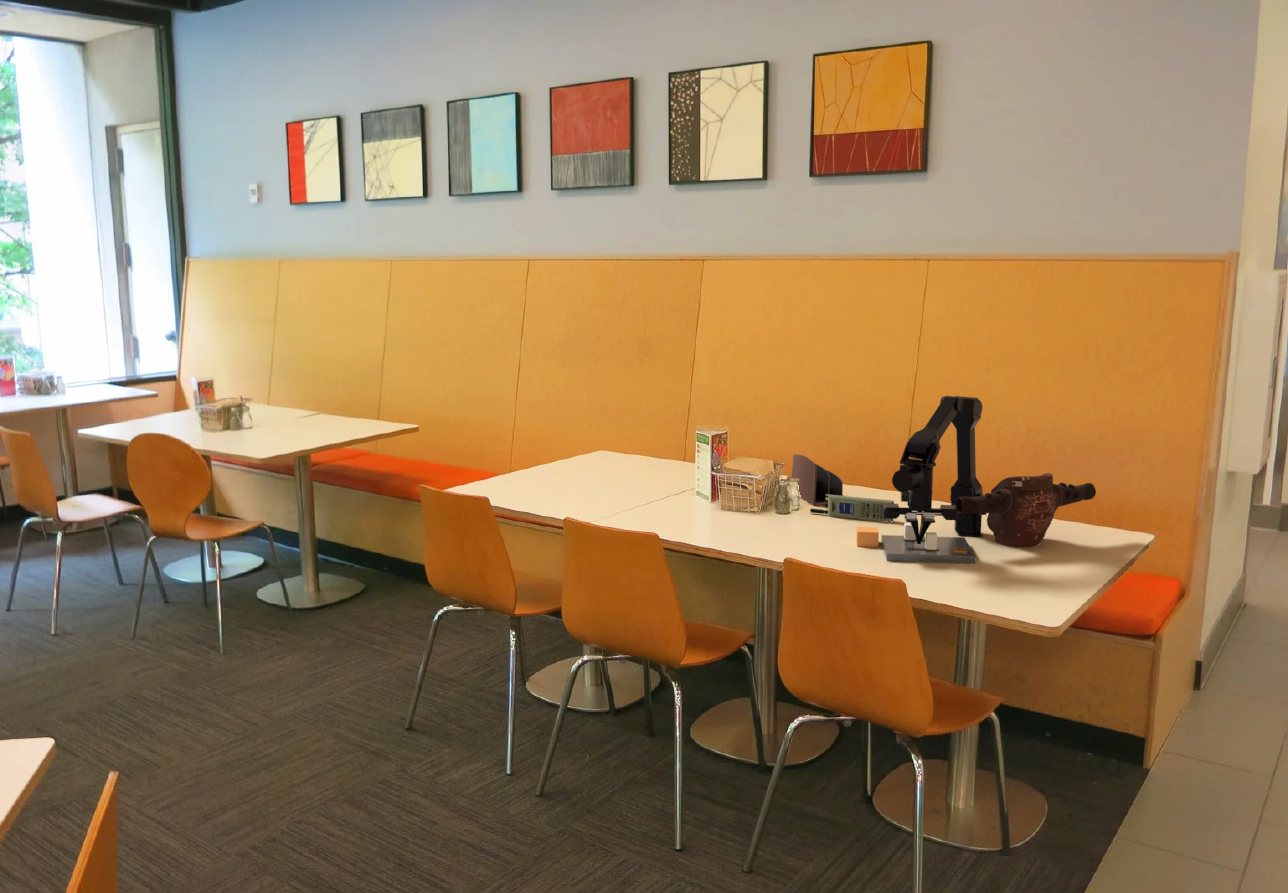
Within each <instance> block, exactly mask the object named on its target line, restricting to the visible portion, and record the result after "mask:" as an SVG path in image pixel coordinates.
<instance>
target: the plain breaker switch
mask: <svg viewBox="0 0 1288 893" xmlns="http://www.w3.org/2000/svg"><path fill="white" fill-rule="evenodd" d="M903 526H904V527H903V536H904V539H905V540H915V534H914V530H913V527H912V525H911V523H910V522H904V524H903Z"/></svg>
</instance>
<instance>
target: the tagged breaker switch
mask: <svg viewBox="0 0 1288 893" xmlns="http://www.w3.org/2000/svg"><path fill="white" fill-rule="evenodd" d="M924 536H925V548H926V550H937V537H938V533H937V532H935V531H926V533H925V535H924Z"/></svg>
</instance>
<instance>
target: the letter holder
mask: <svg viewBox="0 0 1288 893" xmlns="http://www.w3.org/2000/svg"><path fill="white" fill-rule="evenodd" d="M792 477H794V478H798V479H799V481H798V485H799V492H800V495H801V498H802V499H801V498H800V499H801V500H803V501H805V502H806V501H807V503H808V504H810V506H811V505H812V507H817V506H818V505H822V506H825V504H826V503H828V501H827V500H826V497H827V498H828V496H826V494H827V495H839V496H844V495H843V492H844V491H843V489H844V488H843V486H844V485H843V480H842V479H841V478H840V477H839V476H838V475H836V474H835V473H833V472H832V471H829V470H828V469H826V468H824V467H823V466H820V465H819V464H817V463H815V462H814V461H813V460H811V459H810V458H808V457H807V456H805V455H801V454H793V456H792V469H791V478H792ZM818 507H819V506H818Z"/></svg>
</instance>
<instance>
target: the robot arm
mask: <svg viewBox="0 0 1288 893" xmlns="http://www.w3.org/2000/svg"><path fill="white" fill-rule="evenodd" d="M982 412H983V403H982V401H981V400H980V399H979V398H978V397H972V396H963V395H962V396H961V395H955V396H953V395H944V396H942V397H941V398H940V402H939V405H938V407H937V408H936V410H935V411H934V412H933V413H932V416H931V417H930V419H929V420H928V422H927V423H926V424H925V426H924V427H923V428H922V429H920V430H918V431H916V432H914V433H913V434H912V436H911V437H910V438H909V439H908V440H907V441H906V444H905V448H904V449H903V452H902V455H901V458H900V460H899V464H900V465H899V470H896V471H895V472H894V474H893V475H892V477H891V478H892V479H891V483H892V485H893V486H892V487H894V488H895V490H897V491H898V492H900V502H901V503H903V502H904V503H907V507H900V506H899V503H894V504H889V503H885V504H884V505H883V507H882V514H883V517H884V518H886V519H893V520H896V519H898V518H899V517H900V516H901V515H902V516H904V520H905V523H911V525H912V527H913V530H914V534H915V538H916V541H917V544H921V542H922V539H923V537H924V536H926V532H928V529H929V527H931V525H932V524H935V523H936V519H935V517H937V516H939V517H941V516H942V517H943V519H945V521H954V528H953V530H954V532H955V533H956V534H957V536H963V537H965V536H966V537H969V536H970V537H971V536H972V537H982V536H983V533H982V518H983V516H987V514H988V513H969V514H962V513H961V514H960V513H959V512H958V510H957V507H956V505H957V499H958V498H960V497H964V496H968V497H979V496H984V495H985V494H983V493H984V492H983V486H982V484H981V483H980V482H979V479H978V478H977V475H976V473H977V471H976V466H977V465H976V426H977V425H978V423H979V422H980V420H981V418H982ZM951 424H952V425H953V427H954V429H955V431H956V432H955V433H956V459H957V460H956V467H957V468H956V470H957V472H956V473H957V478H956V481H955V482H954V484H953V485H951V488H950V497H949V498H950V499H949V500H950V504H940V507H939V508H938V507H935V508H934V507H933V506H932V504H933V483H934V482H933V480H934V467H936V466H937V463H936V462H935V461H936V459H937V457H938V455H939V454H940V450H941V448H942V447H941V439H942V437H943V436H944V434H945V433H946V431H947V430H948V428H949V427H950V425H951ZM932 507H933V508H932ZM918 516H920V526H919V520H918Z"/></svg>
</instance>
